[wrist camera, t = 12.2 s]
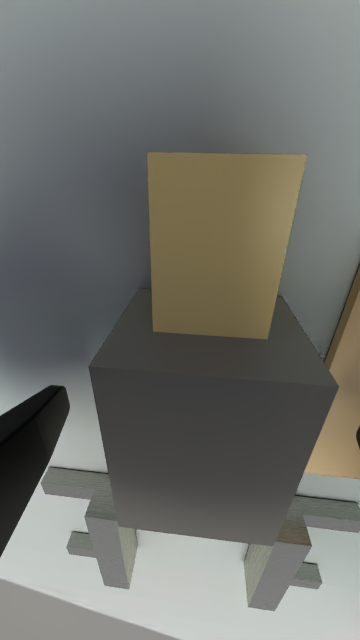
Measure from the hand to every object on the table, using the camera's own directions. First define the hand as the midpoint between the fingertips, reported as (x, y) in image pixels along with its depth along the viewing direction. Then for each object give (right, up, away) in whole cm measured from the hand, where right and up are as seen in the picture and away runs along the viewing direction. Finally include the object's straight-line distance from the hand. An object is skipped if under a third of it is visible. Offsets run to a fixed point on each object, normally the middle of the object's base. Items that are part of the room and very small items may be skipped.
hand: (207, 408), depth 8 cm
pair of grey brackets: (0, -9, +7) cm, 12 cm away
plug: (0, +1, +2) cm, 2 cm away
